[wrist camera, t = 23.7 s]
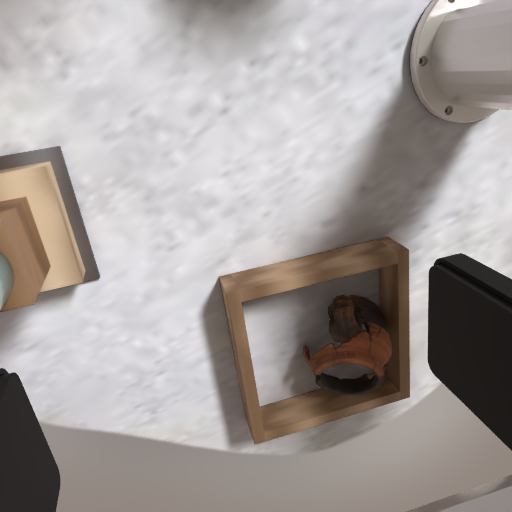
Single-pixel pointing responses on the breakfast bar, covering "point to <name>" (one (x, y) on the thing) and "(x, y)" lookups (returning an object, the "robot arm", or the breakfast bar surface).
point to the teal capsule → (5, 279)
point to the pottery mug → (353, 346)
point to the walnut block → (22, 252)
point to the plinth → (51, 213)
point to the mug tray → (304, 274)
